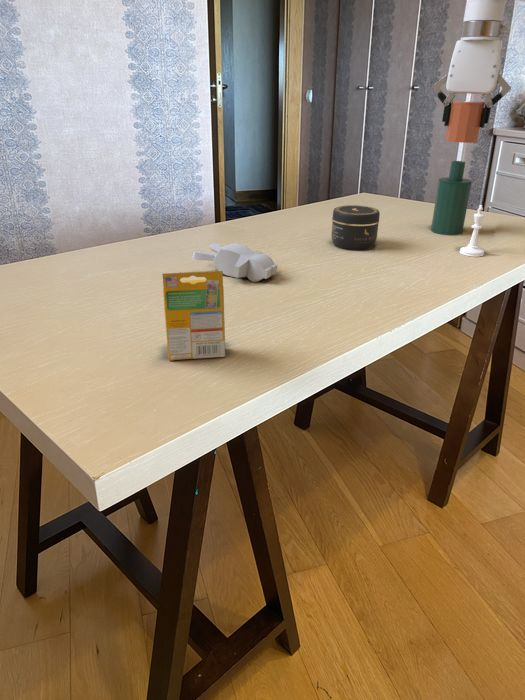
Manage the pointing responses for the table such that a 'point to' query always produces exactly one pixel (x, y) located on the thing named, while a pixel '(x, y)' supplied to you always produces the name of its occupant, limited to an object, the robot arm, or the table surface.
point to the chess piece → (474, 237)
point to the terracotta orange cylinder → (464, 121)
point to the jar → (355, 227)
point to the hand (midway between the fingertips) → (464, 125)
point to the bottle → (451, 201)
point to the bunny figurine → (239, 261)
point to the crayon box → (194, 315)
